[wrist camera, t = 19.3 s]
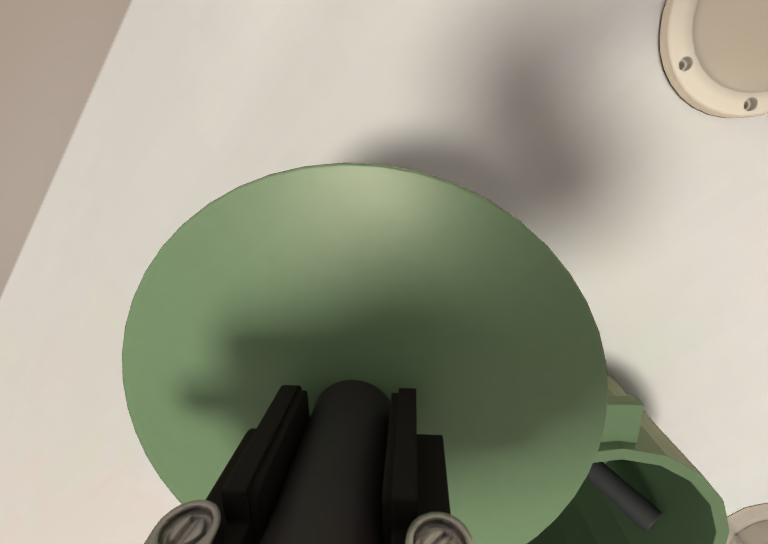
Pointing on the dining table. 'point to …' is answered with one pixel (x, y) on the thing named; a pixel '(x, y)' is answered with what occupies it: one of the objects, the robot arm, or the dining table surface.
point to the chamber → (641, 487)
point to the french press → (749, 525)
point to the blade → (624, 496)
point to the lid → (368, 349)
